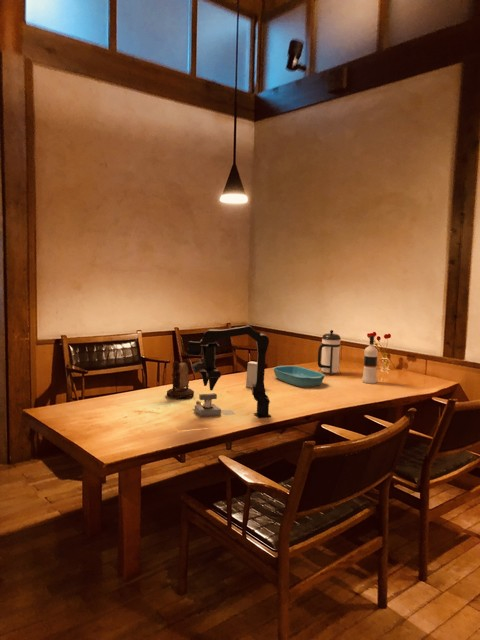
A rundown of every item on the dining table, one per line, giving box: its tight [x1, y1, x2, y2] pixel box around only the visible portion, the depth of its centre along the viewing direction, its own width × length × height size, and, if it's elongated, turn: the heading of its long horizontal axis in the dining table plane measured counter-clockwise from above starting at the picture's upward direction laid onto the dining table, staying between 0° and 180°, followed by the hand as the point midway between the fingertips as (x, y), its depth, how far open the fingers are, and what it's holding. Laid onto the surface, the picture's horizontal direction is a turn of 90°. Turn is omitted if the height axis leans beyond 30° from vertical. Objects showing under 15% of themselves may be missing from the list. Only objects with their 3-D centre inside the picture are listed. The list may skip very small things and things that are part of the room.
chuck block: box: [192, 400, 222, 418], centre depth 255 cm, size 20×10×4 cm, turn 22°
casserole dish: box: [272, 365, 326, 388], centre depth 328 cm, size 37×22×7 cm, turn 32°
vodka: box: [361, 335, 379, 385], centre depth 331 cm, size 9×9×30 cm
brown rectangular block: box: [198, 393, 218, 409], centre depth 250 cm, size 4×8×9 cm, turn 112°
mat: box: [221, 409, 236, 416], centre depth 254 cm, size 8×6×1 cm
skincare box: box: [245, 361, 257, 389], centre depth 309 cm, size 8×6×15 cm
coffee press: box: [317, 329, 342, 376], centre depth 353 cm, size 17×16×30 cm
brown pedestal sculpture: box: [166, 359, 195, 400], centre depth 282 cm, size 15×15×20 cm
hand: (208, 388), depth 250 cm, fingers open, 9 cm apart
